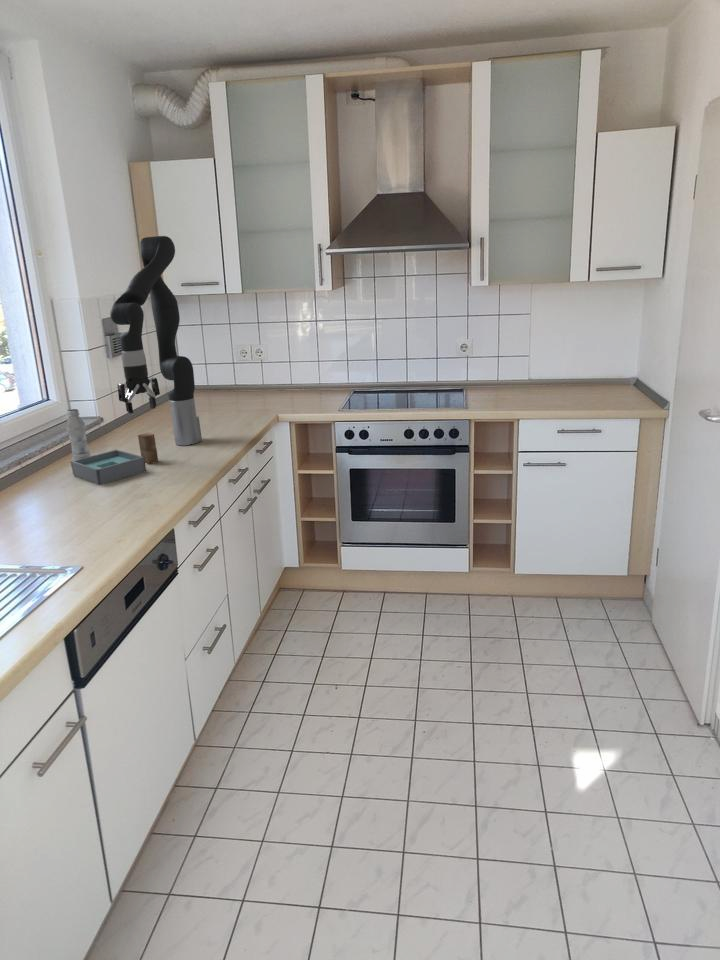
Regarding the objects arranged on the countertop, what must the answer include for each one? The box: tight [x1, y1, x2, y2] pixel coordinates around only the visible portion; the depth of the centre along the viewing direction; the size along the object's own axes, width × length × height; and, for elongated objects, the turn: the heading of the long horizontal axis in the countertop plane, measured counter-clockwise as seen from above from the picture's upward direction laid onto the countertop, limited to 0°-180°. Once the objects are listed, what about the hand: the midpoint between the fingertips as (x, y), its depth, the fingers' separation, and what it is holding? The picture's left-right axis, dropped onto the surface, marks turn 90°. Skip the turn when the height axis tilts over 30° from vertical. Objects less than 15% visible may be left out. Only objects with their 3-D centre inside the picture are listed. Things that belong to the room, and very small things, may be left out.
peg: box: [137, 432, 159, 465], centre depth 247 cm, size 4×4×10 cm
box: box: [70, 449, 147, 486], centre depth 237 cm, size 17×18×5 cm
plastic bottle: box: [65, 408, 92, 461], centre depth 247 cm, size 6×7×20 cm
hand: (141, 410), depth 243 cm, fingers open, 8 cm apart
